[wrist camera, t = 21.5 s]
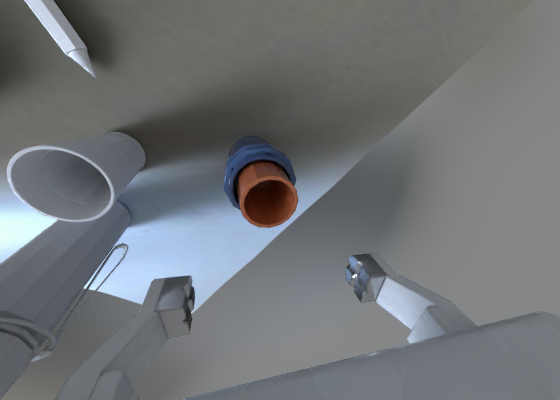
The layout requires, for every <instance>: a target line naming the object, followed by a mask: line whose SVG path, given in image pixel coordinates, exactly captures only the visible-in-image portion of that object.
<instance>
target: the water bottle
mask: <svg viewBox="0 0 560 400" xmlns="http://www.w3.org/2000/svg"><path fill="white" fill-rule="evenodd" d="M130 219H131V217H130V215H129V212H128V210H127V208H126V207H125V206H123V205H122V204H121V203H120V202H118V201H117V200H116V202H115V203H114V205H113V206H112V207H111V209H110V210H109V211H108V212H107V213H106V214H104V215H103V216H101V217H99V218H97V219H94V220H91V221H85V222H68V221H62V220H57V221H56V222H55V223H53V224H52V225H51V226H49V227H48V228H47V229H45V230H44V231H43V232H42V233H40V234H39V235H38V236H36V237H35V238H34V239H32V240H31V241H30V242H28V243H27V244H26V245H24V246H23V247H22V248H20V249H19V250H18V251H17V252H15V253H14V254H13V255H11V256H10V257H9V258H7V259H6V260H5V261H3V262H2V263H1V264H0V399H1V398H2V397H3V396H4V395H5V393H6V392H7V391H8V390H9V388H10V387H11V386H12V385H13V384H14V383H15V381H16V380H17V379H18V378H19V377H20V375H21V374H22V373H23V372H24V371H25V369H26V368H27V367H28V366H29V365H30V363H31V362H34V361H37V360H39V359H41V358H42V357H48V356H49V355H50V354H51V353H52V352H53V350H54V348H55V346H56V343H57V341H58V339H59V336H60V333H61V332H62V331H63V330H64V329H65V328H66V326H67V325H68V324H69V323H70V321H71V320H72V319H73V318H74V317H75V316H76V315H77V313H78V312H77V313H76V314H75V315H74V317H73V318H72V319H71V320H70V321H69V323H68V324H67V325H66V326H65V328H64V329H63V330H62V328H63V327H64V325H65V323H66V322H67V321H68V319H69V318H70V316H71V315H72V313H73V312H74V310H75V308H76V307H77V305H78V304H79V302H80V301H81V299H82V298H83V296H84V295H85V293H86V292H87V290H88V289H89V287H90V286H91V284H92V283H93V281H94V280H95V278H96V277H97V275H98V274H99V272H100V271H101V269H102V268H103V266H104V265H105V263H106V262H107V260H108V259H109V257H110V256H111V254H112V253H113V251H114V250H115V249H118V248H124V254H123V256H122V258H121V260H120V262H121V261H122V260H123V259H124V257H125V255H126V253H127V250H128V245H126V244H124V243H122V244H119V245H117V246H115V248H114V249H113V250H112V251H111V252H110V250H111V249H112V248H113V246H114V245H115V244H116V242H117V241H118V240H119V238H120V237H121V235H122V234H123V233H124V231H125V230H126V229H127V227H128V225H129V222H130ZM109 252H110V254H109V255H108V253H109ZM107 255H108V257H107V258H106V260H105V261H104V263H103V264H102V266H101V267H100V269H99V270H98V272H97V273H96V275H95V276H94V278H93V279H92V281H91V282H90V284H89V285H88V287H87V289H86V290H85V292H84V293H83V295H82V296H81V298H80V299H79V301H78V302H77V304H76V306H75V307H74V309H73V310H72V311H71V313H70V315H69V316H68V318H67V319H66V321H65V322H64V324H63V325H62V327H61V328H60V330H59V332H58V333H57V334H55V335H54V336H53V334H52V333H51V331H52V330H53V328H54V327H55V326H56V324H57V323H58V322H59V320H60V319H61V317H62V316H63V314H64V313H65V312H66V311H67V309H68V308H69V306H70V305H71V304H72V302H73V301H74V300H75V298H76V297H77V296H78V294H79V293H80V291H81V290H82V289H83V287H84V286H85V285H86V283H87V282H88V281H89V279H90V278H91V276H92V275H93V274H94V272H95V271H96V270H97V268H98V267H99V266H100V264H101V263H102V261H103V260H104V259H105V257H106V256H107ZM120 262H119V263H118V264H117V265H116V267H117V266H118V265H119V264H120ZM116 267H115V268H116ZM115 268H114V269H113V270H112V271H111V272H110V274H111V273H112V272H113V271H114V270H115ZM110 274H109V275H108V276H107V277H106V278H105V280H106V279H107V278H108V277H109V276H110ZM105 280H104V281H105ZM104 281H103V282H102V283H101V284H100V286H101V285H102V284H103V283H104ZM100 286H99V287H100ZM99 287H98V288H97V289H96V290H95V292H96V291H97V290H98V289H99ZM95 292H94V293H95ZM94 293H93V294H94ZM93 294H92V295H91V296H90V297H89V299H90V298H91V297H92V296H93ZM89 299H88V300H89ZM88 300H87V301H88ZM87 301H86V302H85V304H86V303H87ZM85 304H84V305H85ZM84 305H83V306H84ZM83 306H82V307H83ZM82 307H81V308H82ZM81 308H80V310H81ZM80 310H79V311H80ZM61 330H62V331H61ZM60 331H61V332H60ZM46 338H47V339H48V340H49V343H48V345H47V346H46V348H45V349H44V351H43V352H42V353H41V354H39V355H38V356H36V357H34V356H35V353H36V349H37V348H38V347H39V346H41V344H42V343H43V342H44V341H45V339H46Z"/></svg>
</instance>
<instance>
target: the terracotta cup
mask: <svg viewBox="0 0 560 400" xmlns="http://www.w3.org/2000/svg"><path fill="white" fill-rule="evenodd" d="M236 177H237V186H238V195H239V204H240V209H241V212H242V215H243V217H244V218H245V219H246V220H247V221H248V222H249V223H251V224H253V225H255V226H258V227H266V228H271V227H274V226H278V225H280V224H282V223H284V222H285V221H287V220H288V219H289V218H290V217H291V216H292V214H293V213H294V212H295V210H296V207H297V203H298V196H297V191H296V189H295V188H294V186H293V185H292V183H291V182H290V180H289V179H288V178H287V176H286V175H285V173H284V172H283V170H282V169H281V168H280V166H279V165H278V163H277V162H275V161H273V160H266V159H259V160H255V161H252V162H249V163H247V164H246V165H245V166H243V167H242V168H241V169H239V171H238V173H237V174H236Z"/></svg>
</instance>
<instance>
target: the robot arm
mask: <svg viewBox="0 0 560 400" xmlns="http://www.w3.org/2000/svg"><path fill="white" fill-rule="evenodd" d="M348 262H349V263H350V264H349V265H348V266H347V267H346V271H345V273H346V278H347V281H348V283H349V284H350V285H351V286H353V287H354V292H355V294H356V295H357V297H358V299H359V300H360V302H361V303H364V302H370V301H376V302H377V303H378V304H379V305H380V306H382V307H383V308H384V309H386V310H387V311H388V312H390V313H391V314H392V315H393V316H395V317H396V318H397V319H398V320H400V321H401V322H402V323H403V324H405V325H406V326H407V327H409V328H410V329H411V332H410V333H409V335H408V337H407V340H408V341H409V344H405V345H401V346H397V347H393V348H388V349H384V350H380V351H376V352H372V353H368V354H364V355H360V356H357V357H352V358H348V359H344V360H340V361H336V362H332V363H328V364H324V365H320V366H316V367H311V368H307V369H303V370H299V371H296V372H291V373H287V374H283V375H279V376H275V377H271V378H267V379H263V380H259V381H255V382H251V383H247V384H243V385H239V386H235V387H230V388H226V389H222V390H218V391H215V392H210V393H206V394H203V395H198V396H194V397H190V398H186V399H182V400H560V317H559V316H556V315H554V314H551V313H548V312H534V313H530V314H526V315H522V316H518V317H514V318H510V319H506V320H502V321H498V322H494V323H490V324H486V325H482V326H478V327H477V326H476V325H475V324H474V323H473V322H472V321H471V320H470V319H469V318H468V317H467V316H466V315H465V314H464V313H462V311H461V310H459V309H458V308H457V307H456V306H455V305H454V304H453V303H452V302H451V301H449V300H448V299H445V298H444V297H442V296H440V295H438V294H436V293H434V292H432V291H430V290H428V289H426V288H425V287H423V286H421V285H419V284H417V283H415V282H413V281H411V280H409V279H408V278H406V277H404V276H402V275H397V274H396V273H395V271H394V270H393V269H392V268H391V267H390V266H389V265H388V264H387V263H386V262H385V261H384V259H383V258H382V257H381V256H380V255H379V254H377V253H369V254H361V255H354V256H351V257H350V258H349V261H348ZM194 301H195V292H194V287H192V277H191V276H180V277H169V278H161V279H154V280H153V281H152V282H151V285H150V287H149V290H148V292H147V295H146V297H145V300H144V302H143V305H142V307H141V310H140V312H139V315H134V316H133V317H132V318H131V319H130V320H129V321H128V322H127V323H126V324H125V325H123V326H122V327H121V328H120V329H119V330H118V331H117V332H116V333H115V334H114V335H113V336H112V337H111V338H109V339H108V340H107V341H106V342H105V343H104V344H103V345H102V346H101V347H100V348H99V349H98V350H97V351H96V352H94V353H93V354H92V355H91V356H90V357H89V358H88V359H87V360H86V361H85V362H84V363H83V364H82V365H81V366H79V368H77V369H76V370H75V371H74V372H73V373H72V374H71V375H70V376H69V377H68V378H67V379H66V381H65V383H64V385H63V386H62V388H61V390H60V392H59V393H58V395H57V397H56V399H55V400H140V399H139V397H138V396H137V394H136V392H135V391H134V389H133V388H134V386H135V385H136V384H137V382H138V381H139V380H140V378H141V377H142V375H143V374H144V373H145V371H146V370H147V368H148V367H149V365H150V364H151V362H152V361H153V360H154V358H155V357H156V356H157V354H158V353H159V352H160V350H161V349H162V347H163V346H164V344H165V343H166V342H167V340H168V338H173V337H177V336H182V335H187V334H190V328H191V322H192V317H191V311H192V310H193V309H194Z"/></svg>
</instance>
